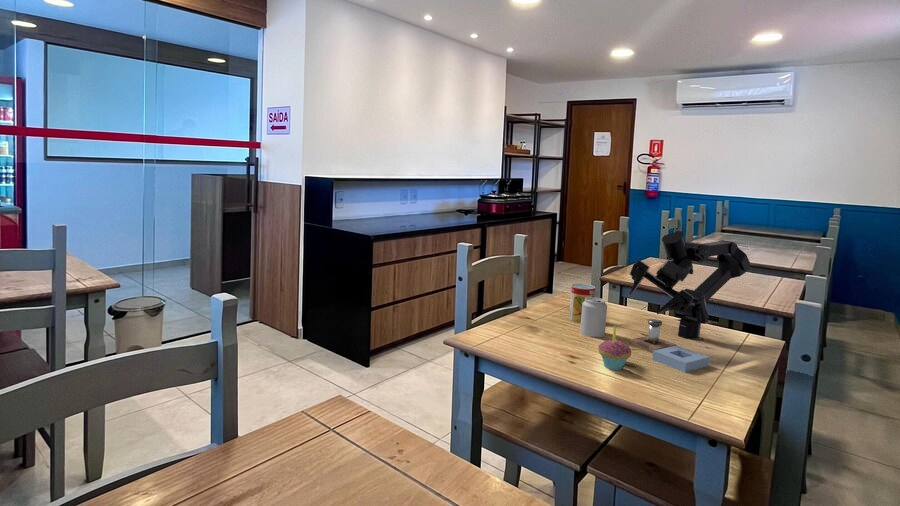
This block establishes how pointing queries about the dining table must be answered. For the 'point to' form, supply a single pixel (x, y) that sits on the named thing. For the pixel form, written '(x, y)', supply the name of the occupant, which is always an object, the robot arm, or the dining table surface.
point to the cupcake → (614, 353)
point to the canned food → (579, 299)
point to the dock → (680, 358)
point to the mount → (649, 347)
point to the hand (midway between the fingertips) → (643, 303)
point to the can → (593, 317)
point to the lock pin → (654, 331)
